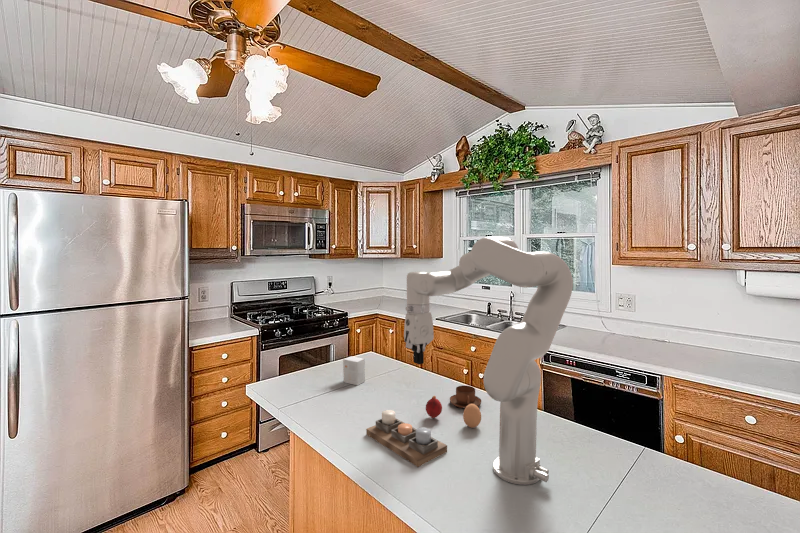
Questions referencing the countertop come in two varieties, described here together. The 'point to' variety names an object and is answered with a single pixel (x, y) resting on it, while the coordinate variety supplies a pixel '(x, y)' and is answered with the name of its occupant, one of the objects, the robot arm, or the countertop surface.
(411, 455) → the button board
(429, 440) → the grey button
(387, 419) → the cream button
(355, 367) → the small box
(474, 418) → the egg
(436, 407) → the red fruit
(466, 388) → the cup and saucer
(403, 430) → the terracotta button
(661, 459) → the countertop surface
